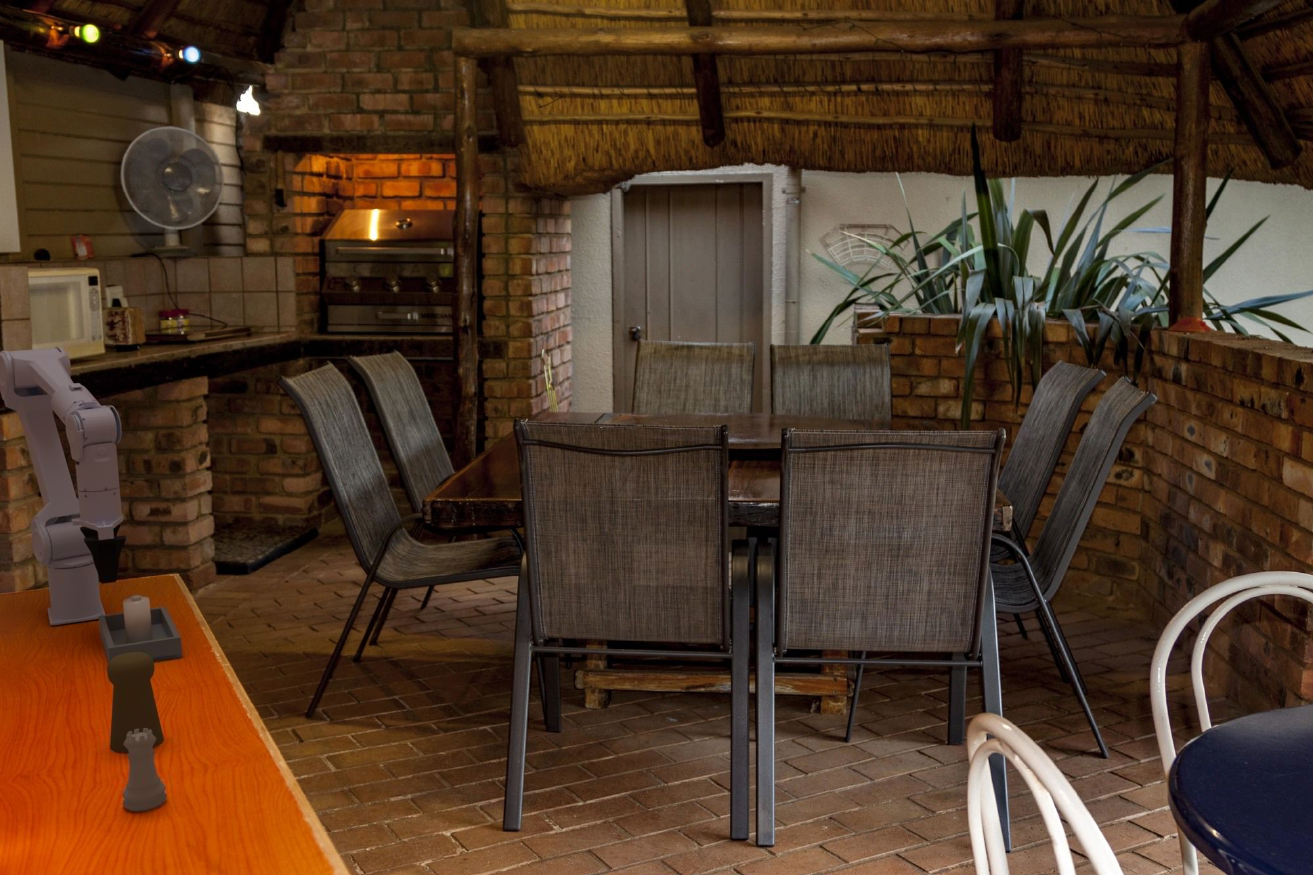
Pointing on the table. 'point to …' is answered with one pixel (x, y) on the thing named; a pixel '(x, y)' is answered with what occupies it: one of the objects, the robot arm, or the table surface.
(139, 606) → the cell
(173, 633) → the trough
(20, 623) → the table surface
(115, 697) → the cork
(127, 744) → the rook chess piece
